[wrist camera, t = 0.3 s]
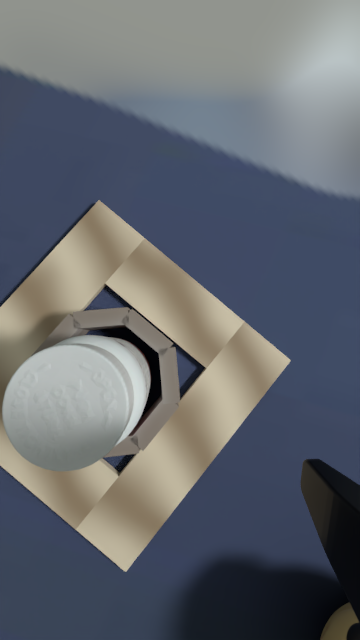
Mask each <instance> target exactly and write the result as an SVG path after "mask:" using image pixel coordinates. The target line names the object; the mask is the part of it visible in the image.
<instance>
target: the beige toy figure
mask: <svg viewBox="0 0 360 640" xmlns="http://www.w3.org/2000/svg"><path fill="white" fill-rule="evenodd" d="M320 640H360V623H359V621H358V619H357V617H356V615H355V613H354V610H353V608H352V606H351V604H350V602H348V603H346V604H345V605H343V606H341V607H340V608H339V609H337V610H336V611H335V612H334V613H333V614H332V616H331V617H330V618H329V620H328V621H327V623H326V625H325V627H324V629H323V631H322V634H321V637H320Z"/></svg>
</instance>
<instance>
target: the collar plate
mask: <svg viewBox="0 0 360 640" xmlns="http://www.w3.org/2000/svg"><path fill="white" fill-rule="evenodd" d="M106 285H107V286H109V287H110V288H111V289H112V290H113V291H114V292H116V293H117V294H118V295H119V296H120V297H122V298H123V299H124V300H125V301H126V302H128V303H129V304H130V305H131V306H132V307H134V308H135V309H136V310H137V311H138V312H140V313H141V314H142V315H143V316H144V317H145V318H147V319H148V320H149V321H150V322H151V323H153V324H154V325H155V326H156V327H157V328H159V329H160V330H161V331H162V332H163V333H165V334H166V335H167V336H168V337H169V338H170V339H172V340H173V341H174V342H175V343H176V344H178V345H179V346H180V347H181V348H182V349H184V350H185V351H186V352H187V353H188V354H190V355H191V356H192V357H193V358H194V359H195V360H197V361H198V362H199V363H200V364H201V365H203V366H204V367H205V369H204V370H203V371H202V373H201V374H200V375H199V376H198V378H197V379H196V380H195V381H194V383H193V384H192V385H191V386H190V387H189V389H188V390H187V391H186V392H185V394H184V395H183V396H182V397H181V399H180V393H179V381H178V370H177V358H176V347H171V346H172V345H173V343H172V342H171V341H170V340H169V339H168V338H166V337H165V336H164V335H163V334H162V333H160V332H159V331H158V330H157V329H156V328H155V327H153V326H152V325H151V324H150V323H149V322H147V321H146V320H145V319H144V318H143V317H141V316H140V315H139V314H138V313H137V312H135V311H134V310H133V309H131V310H130V309H129V308H128V307H125V308H113V309H100V310H88V311H84V310H85V309H86V307H87V306H88V305H89V304H90V303H91V302H92V301H93V299H94V298H95V297H96V296H97V295H98V294H99V293H100V292H101V290H102V289H103V288H104V287H105V286H106ZM123 327H128V328H129V329H130V330H131V331H133V332H134V333H135V334H136V335H137V336H138V337H140V338H141V339H142V340H143V341H144V342H146V343H147V344H148V345H149V346H150V347H152V348H153V349H154V350H155V351H156V352H157V353H159V362H160V374H161V386H162V394H161V395H160V396H159V397H158V399H157V400H156V401H155V402H154V404H153V405H152V406H151V407H150V408H149V410H148V411H147V412H146V413H145V414H144V416H143V417H142V418H141V419H140V421H139V422H138V423H137V425H136V426H135V427H134V429H133V430H132V432H131V433H130V434H129V435H128V436H127V437H126V438H125V439H124V440H123V441H121V442H120V443H119V444H117V445H116V446H114V447H113V449H112V450H111V451H110V452H109V453H108V454H107V455H105V456H104V457H111V456H120V455H129V454H135V455H134V456H133V458H132V459H131V460H130V461H129V462H128V464H127V465H126V466H125V467H124V469H123V470H122V471H121V472H120V473H119V472H118V471H117V470H116V469H115V468H114V467H112V466H111V465H110V464H109V463H108V462H106V461H105V460H104V459H103V458H102V459H100V460H99V461H97V462H95V463H94V464H92V465H90V466H87V467H85V468H82V469H79V470H73V471H52V470H47V469H43V468H41V467H38V466H36V465H34V464H32V463H30V462H29V461H27V460H26V459H25V458H24V457H22V456H21V455H20V454H19V453H18V452H17V451H16V449H15V448H14V447H13V445H12V444H11V442H10V440H9V438H8V436H7V434H6V431H5V429H4V424H3V418H2V404H3V399H4V394H5V391H6V387H7V385H8V383H9V381H10V379H11V377H12V376H13V374H14V373H15V372H16V370H17V369H18V368H19V367H20V366H21V365H22V364H23V363H24V362H25V361H26V360H27V359H28V358H29V357H31V356H32V355H34V354H35V353H37V352H39V351H41V350H43V349H46V348H49V347H52V346H54V345H56V344H57V343H59V342H61V341H63V340H65V339H68V338H72V337H75V336H82V335H86V334H87V333H88V332H89V331H90V330H100V329H112V328H123ZM290 361H291V360H290V359H289V358H287V357H286V356H285V355H284V354H283V353H281V352H280V351H279V350H278V349H277V348H275V347H274V346H273V345H272V344H271V343H269V342H268V341H267V340H266V339H265V338H263V337H262V336H261V335H260V334H259V333H257V332H256V331H255V330H254V329H253V328H251V327H250V326H249V325H248V324H247V323H246V322H244V321H243V320H242V319H241V318H240V317H238V316H237V315H236V314H235V313H234V312H232V311H231V310H230V309H229V308H228V307H226V306H225V305H224V304H223V303H222V302H220V301H219V300H218V299H217V298H216V297H214V296H213V295H212V294H211V293H210V292H208V291H207V290H206V289H205V288H204V287H202V286H201V285H200V284H199V283H198V282H196V281H195V280H194V279H193V278H192V277H190V276H189V275H188V274H187V273H186V272H185V271H183V270H182V269H181V268H180V267H179V266H177V265H176V264H175V263H174V262H173V261H171V260H170V259H169V258H168V257H167V256H165V255H164V254H163V253H162V252H161V251H159V250H158V249H157V248H156V247H155V246H153V245H152V244H151V243H150V242H149V241H147V240H146V239H145V238H144V237H143V236H141V235H140V234H139V233H138V232H137V231H135V230H134V229H133V228H132V227H131V226H129V225H128V224H127V223H126V222H125V221H124V220H122V219H121V218H120V217H119V216H118V215H116V214H115V213H114V212H113V211H112V210H110V209H109V208H108V207H107V206H106V205H104V204H103V203H102V202H101V201H100V200H99V201H98V202H97V203H96V204H95V205H94V206H93V207H92V208H91V209H90V210H89V211H88V213H87V214H86V215H85V216H84V217H83V218H82V219H81V220H80V221H79V222H78V223H77V225H76V226H75V227H74V228H73V229H72V230H71V231H70V232H69V233H68V234H67V235H66V236H65V238H64V239H63V240H62V241H61V242H60V243H59V244H58V245H57V246H56V247H55V248H54V250H53V251H52V252H51V253H50V254H49V255H48V256H47V257H46V258H45V259H44V260H43V261H42V263H41V264H40V265H39V266H38V267H37V268H36V269H35V270H34V271H33V272H32V273H31V275H30V276H29V277H28V278H27V279H26V280H25V281H24V282H23V283H22V284H21V285H20V286H19V288H18V289H17V290H16V291H15V292H14V293H13V294H12V295H11V296H10V297H9V298H8V300H7V301H6V302H5V303H4V304H3V305H2V306H1V307H0V466H1V467H3V468H4V469H5V470H6V471H7V472H9V473H10V474H11V475H12V476H13V477H14V478H16V479H17V480H18V481H19V482H20V483H21V484H23V485H24V486H25V487H26V488H27V489H29V490H30V491H31V492H32V493H33V494H34V495H36V496H37V497H38V498H39V499H40V500H41V501H43V502H44V503H45V504H46V505H47V506H48V507H50V508H51V509H52V510H53V511H54V512H56V513H57V514H58V515H59V516H60V517H61V518H63V519H64V520H65V521H66V522H67V523H68V524H70V525H71V526H72V527H73V528H74V529H75V530H77V531H78V532H79V533H80V534H81V535H83V536H84V537H85V538H86V539H87V540H88V541H90V542H91V543H92V544H93V545H94V546H95V547H97V548H98V549H99V550H100V551H101V552H103V553H104V554H105V555H106V556H107V557H108V558H110V559H111V560H112V561H113V562H114V563H115V564H117V565H118V566H119V567H120V568H121V569H122V570H124V571H125V572H126V571H127V570H128V569H129V567H130V566H131V565H132V563H133V562H134V561H135V560H136V558H137V557H138V556H139V554H140V553H141V552H142V551H143V549H144V548H145V547H146V545H147V544H148V543H149V542H150V540H151V539H152V538H153V536H154V535H155V534H156V533H157V531H158V530H159V529H160V527H161V526H162V525H163V524H164V522H165V521H166V520H167V519H168V517H169V516H170V515H171V513H172V512H173V511H174V510H175V508H176V507H177V506H178V504H179V503H180V502H181V501H182V499H183V498H184V497H185V495H186V494H187V493H188V492H189V490H190V489H191V488H192V486H193V485H194V484H195V483H196V481H197V480H198V479H199V478H200V476H201V475H202V474H203V472H204V471H205V470H206V469H207V467H208V466H209V465H210V463H211V462H212V461H213V460H214V458H215V457H216V456H217V454H218V453H219V452H220V451H221V449H222V448H223V447H224V445H225V444H226V443H227V442H228V440H229V439H230V438H231V437H232V435H233V434H234V433H235V431H236V430H237V429H238V428H239V426H240V425H241V424H242V422H243V421H244V420H245V419H246V417H247V416H248V415H249V413H250V412H251V411H252V410H253V408H254V407H255V406H256V404H257V403H258V402H259V401H260V399H261V398H262V397H263V396H264V394H265V393H266V392H267V390H268V389H269V388H270V387H271V385H272V384H273V383H274V381H275V380H276V379H277V378H278V376H279V375H280V374H281V372H282V371H283V370H284V369H285V367H286V366H287V365H288V363H289V362H290Z"/></svg>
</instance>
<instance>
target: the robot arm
mask: <svg viewBox="0 0 360 640" xmlns="http://www.w3.org/2000/svg"><path fill="white" fill-rule="evenodd" d="M301 490H302V493H303V496H304V499H305V501H306V504H307V506H308V509H309V512H310V514H311V517H312V520H313V522H314V525H315V527H316V530H317V533H318V535H319V538H320V540H321V543H322V545H323V548H324V550H325V553H326V555H327V557H328V559H329V561H330V563H331V565H332V567H333V570H334V572H335V574H336V576H337V578H338V580H339V582H340V584H341V586H342V588H343V590H344V592H345V594H346V596H347V598H348V600H349V602H350V604H351V606H352V608H353V610H354V613H355V615H356V617H357V619H358V621H359V623H360V485H358V484H357V483H355V482H354V481H352V480H351V479H349V478H348V477H346V476H345V475H343V474H341V473H340V472H338V471H337V470H335V469H334V468H332V467H331V466H329V465H328V464H326V463H324V462H323V461H321V460H320V459H306V460H304V462H303V466H302V475H301Z"/></svg>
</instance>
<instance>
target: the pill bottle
mask: <svg viewBox="0 0 360 640" xmlns="http://www.w3.org/2000/svg"><path fill="white" fill-rule="evenodd" d="M150 385H151V370H150V366H149V363H148V360H147V358H146V357H145V355H144V354H143V352H142V351H141V350H140V349H139V348H138V347H136V346H135V345H134V344H132V343H130V342H128V341H126V340H123V339H120V338H112V337H105V336H97V335H82V336H75V337H72V338H68V339H65V340H63V341H61V342H59V343H57V344H56V345H54V346H52V347H49V348H46V349H43V350H41V351H39V352H37V353H35V354H34V355H32V356H31V357H29V358H28V359H27V360H26V361H25V362H24V363H23V364H22V365H21V366H20V367H19V368H18V369H17V370H16V372H15V373H14V374H13V376H12V377H11V379H10V381H9V383H8V385H7V387H6V391H5V394H4V399H3V404H2V418H3V424H4V429H5V431H6V434H7V436H8V438H9V440H10V442H11V444H12V445H13V447H14V448H15V449H16V451H17V452H18V453H19V454H20V455H21V456H22V457H24V458H25V459H26V460H27V461H29V462H30V463H32V464H34V465H36V466H38V467H41V468H43V469H47V470H52V471H73V470H79V469H82V468H85V467H87V466H90V465H92V464H94V463H95V462H97V461H99V460H100V459H102V458H103V457H104V456H105V455H107V454H108V453H109V452H110V451H111V450H112V449H113V447H114V446H116V445H117V444H119V443H120V442H121V441H123V440H124V439H125V438H126V437H127V436H128V435H129V434H130V433H131V432H132V430H133V429H134V427H135V426H136V425H137V423H138V421H139V419H140V417H141V415H142V413H143V410H144V407H145V405H146V402H147V398H148V394H149V390H150Z"/></svg>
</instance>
